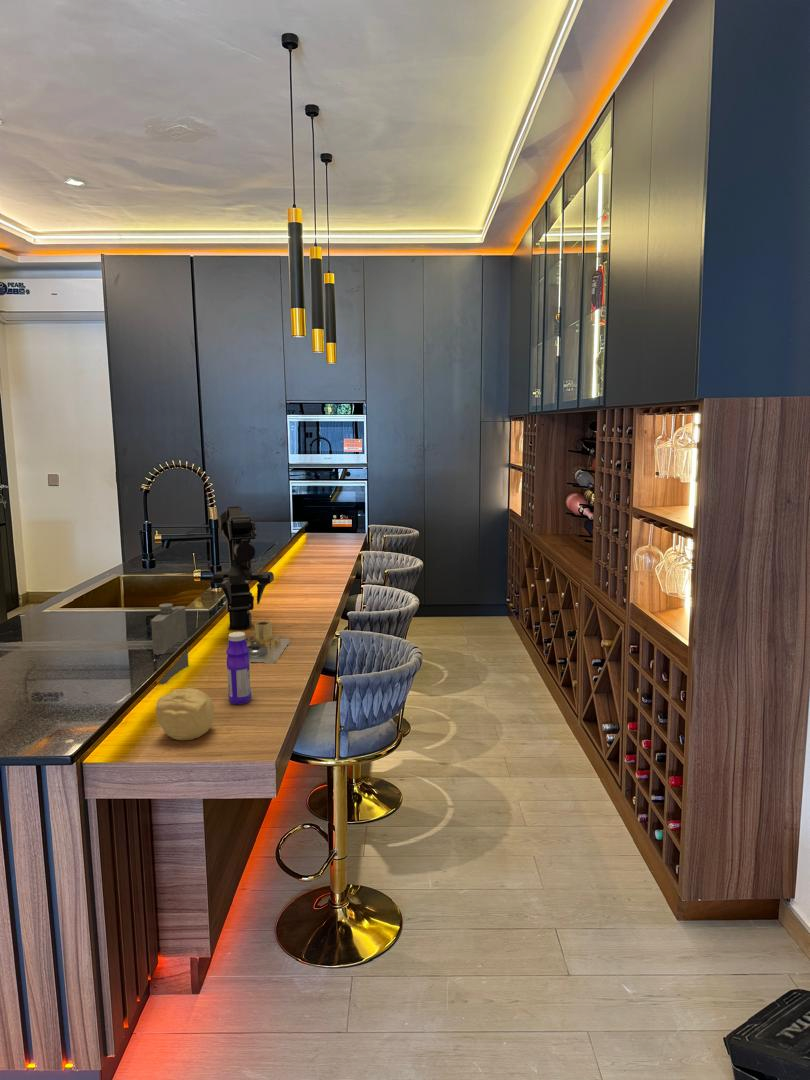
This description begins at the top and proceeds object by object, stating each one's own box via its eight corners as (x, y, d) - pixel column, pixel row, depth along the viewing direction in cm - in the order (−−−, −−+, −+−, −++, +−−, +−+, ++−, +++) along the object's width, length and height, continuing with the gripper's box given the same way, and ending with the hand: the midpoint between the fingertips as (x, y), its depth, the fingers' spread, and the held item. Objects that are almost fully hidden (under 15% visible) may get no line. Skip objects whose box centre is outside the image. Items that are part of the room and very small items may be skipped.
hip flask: (164, 684, 189) (159, 612, 186) (150, 683, 190) (145, 611, 186) (190, 664, 205) (186, 597, 201) (177, 664, 205) (173, 597, 202)
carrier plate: (227, 662, 206) (226, 645, 205) (247, 641, 226) (246, 626, 225) (274, 663, 205) (274, 646, 204) (290, 642, 225) (289, 626, 224)
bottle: (252, 704, 175) (249, 636, 172) (229, 707, 174) (225, 638, 171) (250, 693, 182) (247, 628, 179) (227, 696, 180) (224, 630, 178)
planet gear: (243, 648, 215) (242, 627, 214) (252, 638, 225) (251, 618, 224) (276, 648, 214) (275, 628, 213) (283, 638, 225) (283, 619, 223)
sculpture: (150, 744, 154) (147, 697, 152) (176, 721, 165) (173, 677, 163) (200, 747, 152) (197, 700, 150) (222, 724, 163) (220, 680, 162)
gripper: (204, 560, 216) (207, 610, 219) (264, 561, 215) (266, 610, 217) (216, 554, 227) (218, 601, 229) (273, 554, 226) (275, 601, 228)
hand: (244, 603), depth 226 cm, fingers open, 9 cm apart
